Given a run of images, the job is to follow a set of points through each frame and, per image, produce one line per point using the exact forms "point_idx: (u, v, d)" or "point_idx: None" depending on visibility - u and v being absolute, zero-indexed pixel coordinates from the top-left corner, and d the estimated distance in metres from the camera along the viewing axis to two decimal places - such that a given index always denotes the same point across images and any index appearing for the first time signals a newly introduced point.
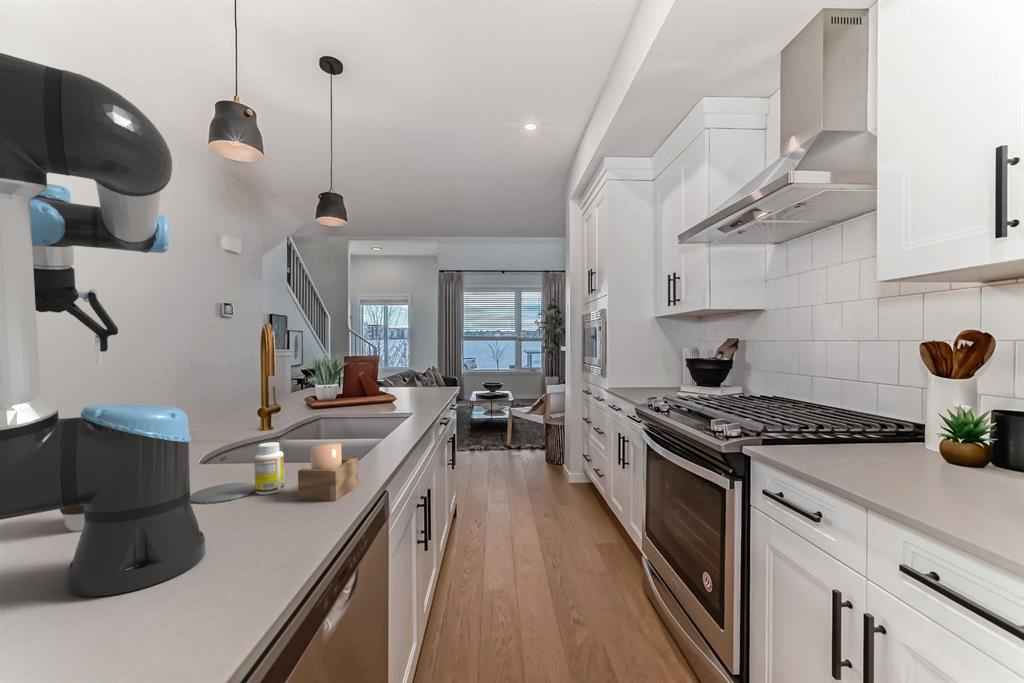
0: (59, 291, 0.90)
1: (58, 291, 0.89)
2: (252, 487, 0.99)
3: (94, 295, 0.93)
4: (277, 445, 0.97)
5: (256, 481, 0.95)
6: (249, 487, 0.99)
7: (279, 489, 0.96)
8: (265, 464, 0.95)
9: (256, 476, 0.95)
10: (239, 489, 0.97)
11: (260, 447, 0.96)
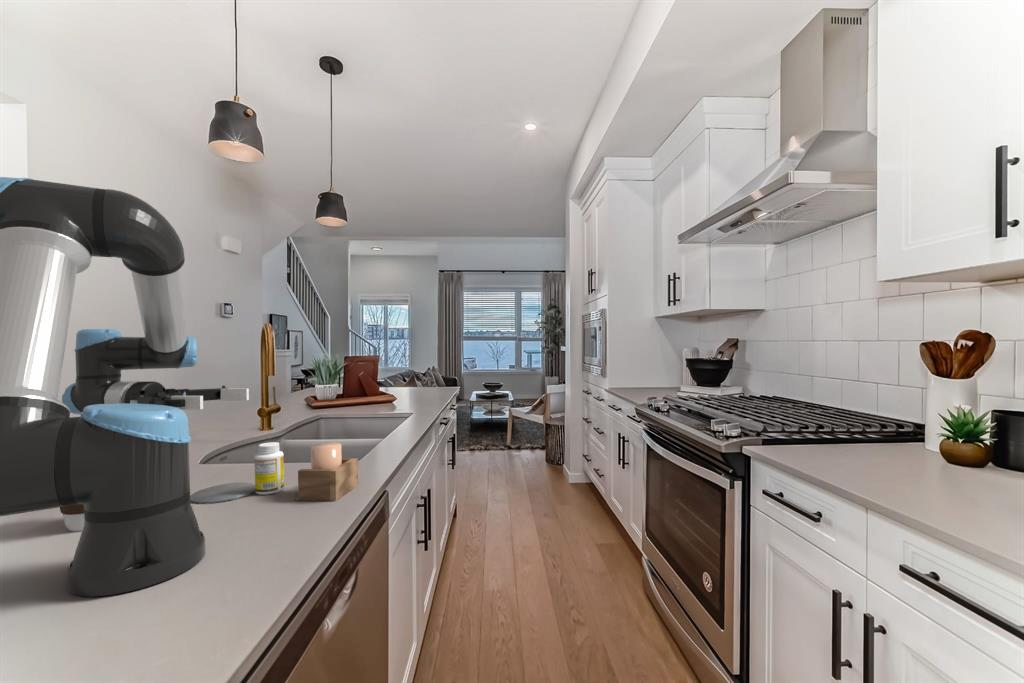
0: None
1: None
2: (252, 487, 0.99)
3: None
4: (277, 445, 0.97)
5: (256, 481, 0.95)
6: (249, 487, 0.99)
7: (279, 489, 0.96)
8: (265, 464, 0.95)
9: (256, 476, 0.95)
10: (239, 489, 0.97)
11: (260, 447, 0.96)
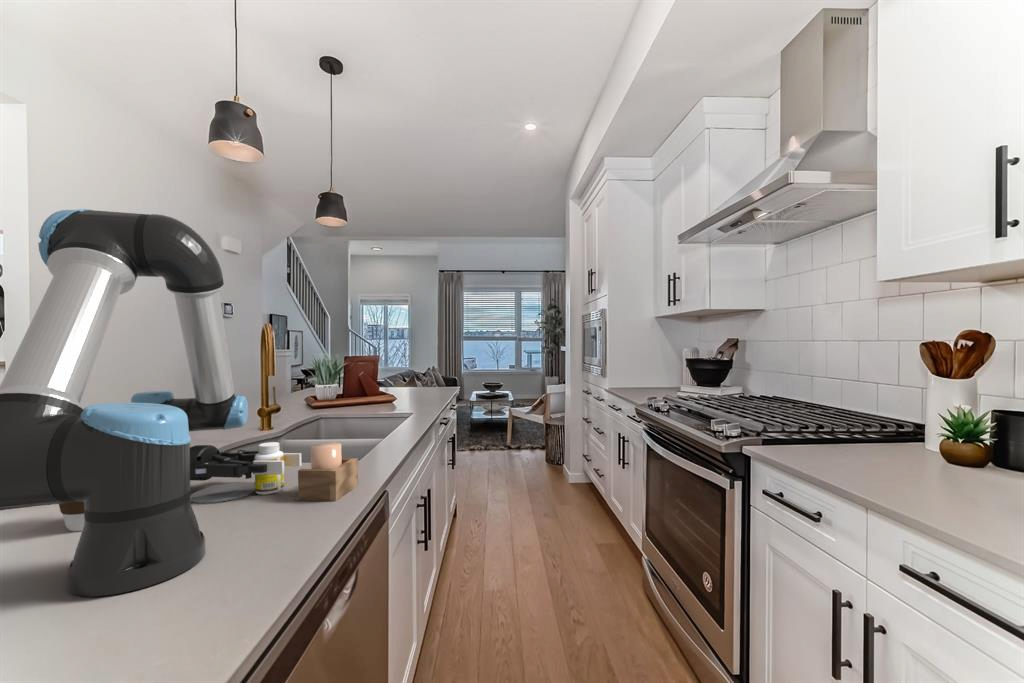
0: (218, 455, 1.01)
1: None
2: (252, 487, 0.99)
3: None
4: (277, 445, 0.97)
5: (256, 481, 0.95)
6: (249, 487, 0.99)
7: (279, 489, 0.96)
8: None
9: (256, 476, 0.95)
10: (239, 489, 0.97)
11: (260, 447, 0.96)
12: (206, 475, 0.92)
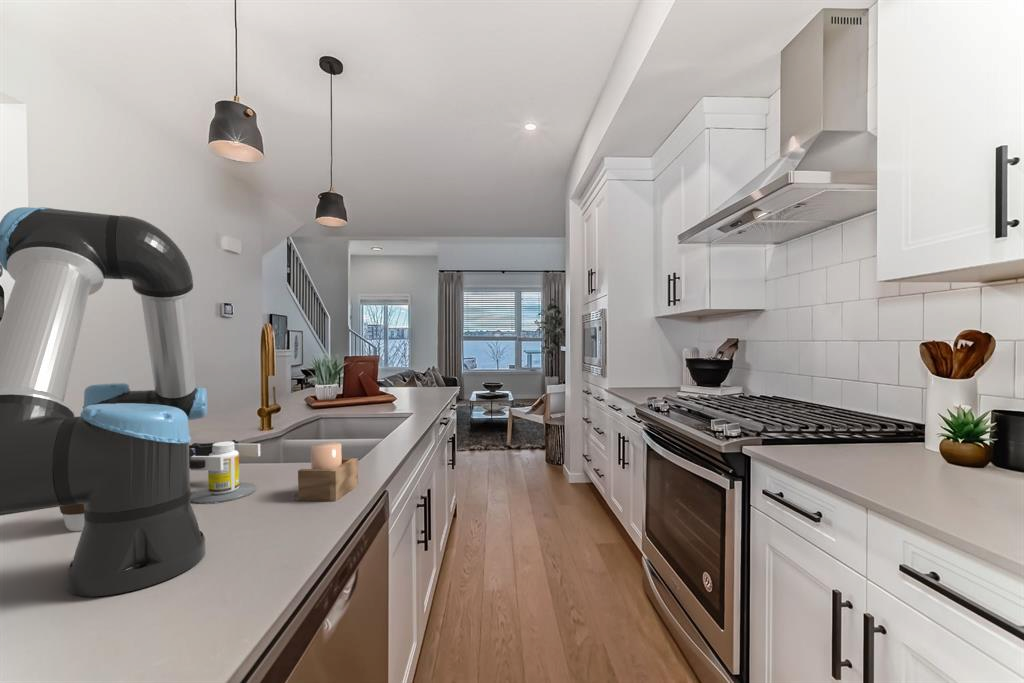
0: None
1: None
2: (252, 487, 0.99)
3: None
4: (232, 445, 0.96)
5: (209, 481, 0.94)
6: (249, 487, 0.99)
7: (233, 489, 0.95)
8: None
9: (209, 476, 0.94)
10: (239, 489, 0.97)
11: (214, 446, 0.94)
12: None
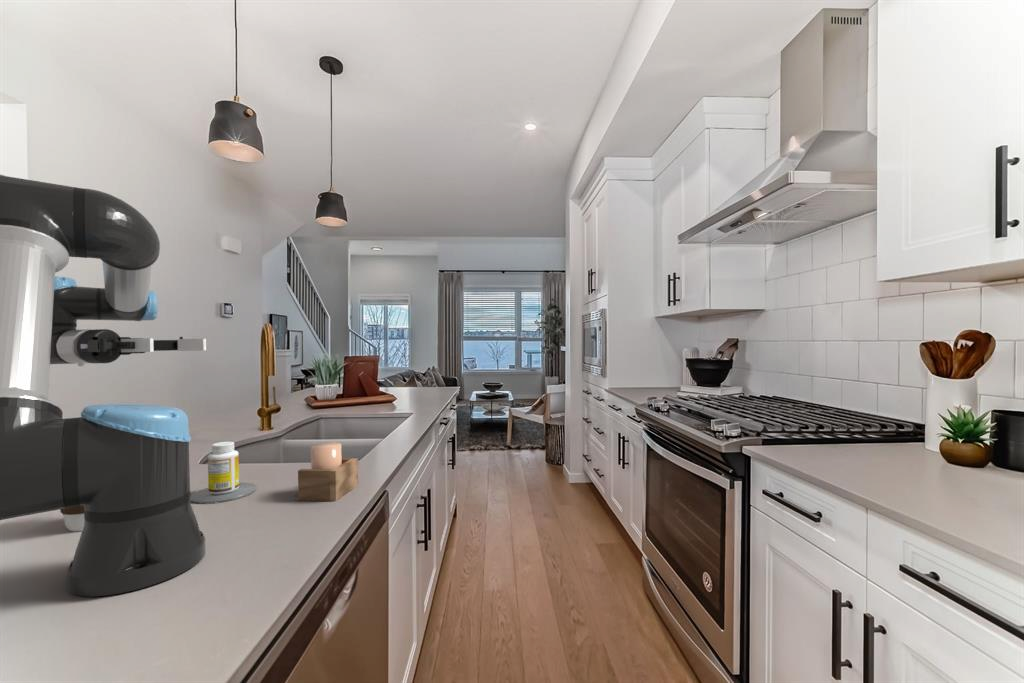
0: None
1: None
2: (252, 487, 0.99)
3: None
4: (231, 444, 0.96)
5: (209, 481, 0.94)
6: (249, 487, 0.99)
7: (233, 489, 0.95)
8: (218, 463, 0.94)
9: (209, 476, 0.94)
10: (239, 489, 0.97)
11: (213, 446, 0.95)
12: (87, 350, 0.92)
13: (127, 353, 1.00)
